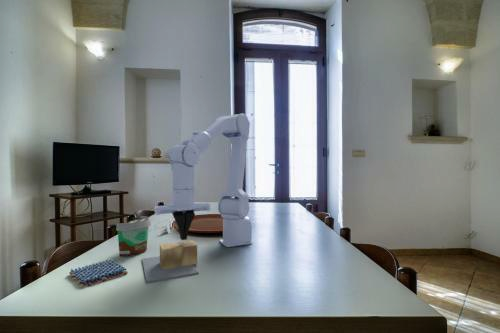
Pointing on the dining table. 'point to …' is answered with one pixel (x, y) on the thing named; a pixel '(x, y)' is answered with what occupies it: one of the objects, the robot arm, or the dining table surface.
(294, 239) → the dining table surface
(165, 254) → the wood block
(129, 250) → the food container
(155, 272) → the grey rubber mat
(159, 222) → the sunglasses
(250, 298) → the dining table surface
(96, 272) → the woven mat
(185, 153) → the robot arm
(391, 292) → the dining table surface
